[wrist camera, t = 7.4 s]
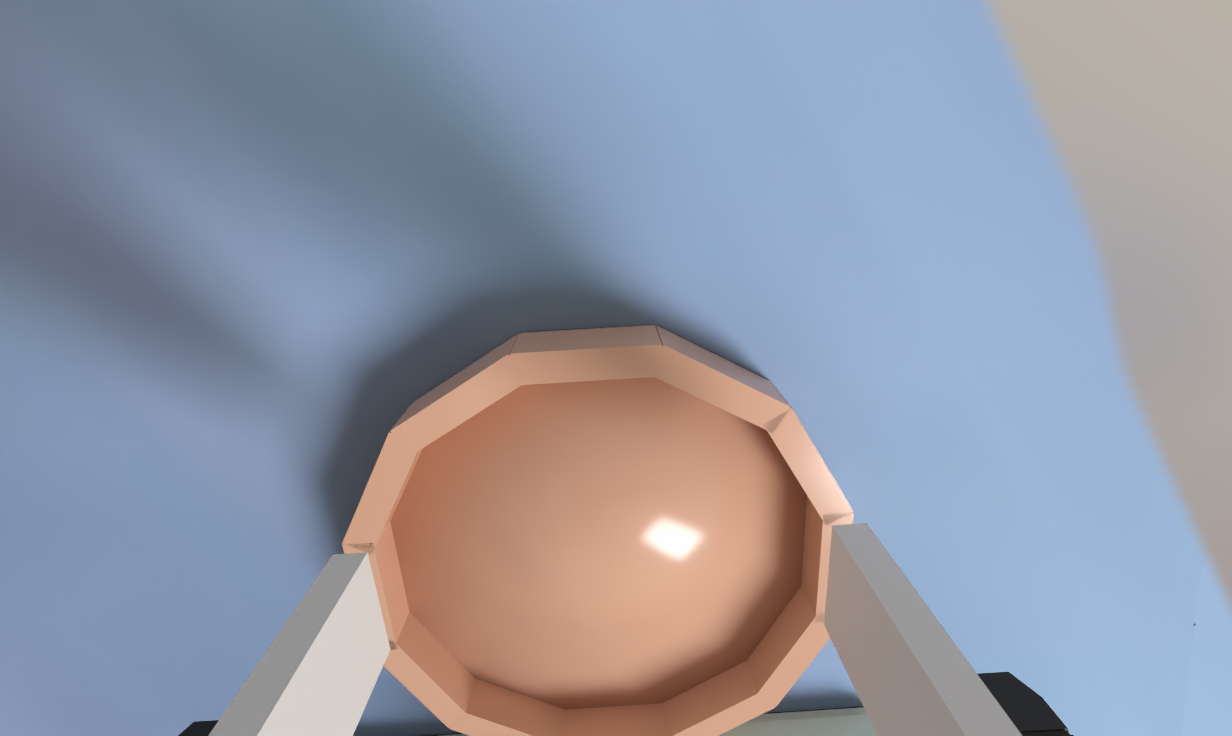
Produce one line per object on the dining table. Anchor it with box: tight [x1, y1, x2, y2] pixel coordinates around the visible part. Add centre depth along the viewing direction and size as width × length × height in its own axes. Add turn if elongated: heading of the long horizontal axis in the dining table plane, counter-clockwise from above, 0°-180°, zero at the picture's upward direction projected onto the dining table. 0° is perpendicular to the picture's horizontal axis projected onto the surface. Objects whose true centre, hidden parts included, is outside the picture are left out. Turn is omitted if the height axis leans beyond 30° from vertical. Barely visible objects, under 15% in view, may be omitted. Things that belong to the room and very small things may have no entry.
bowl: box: [342, 325, 854, 736], centre depth 19 cm, size 15×15×2 cm
